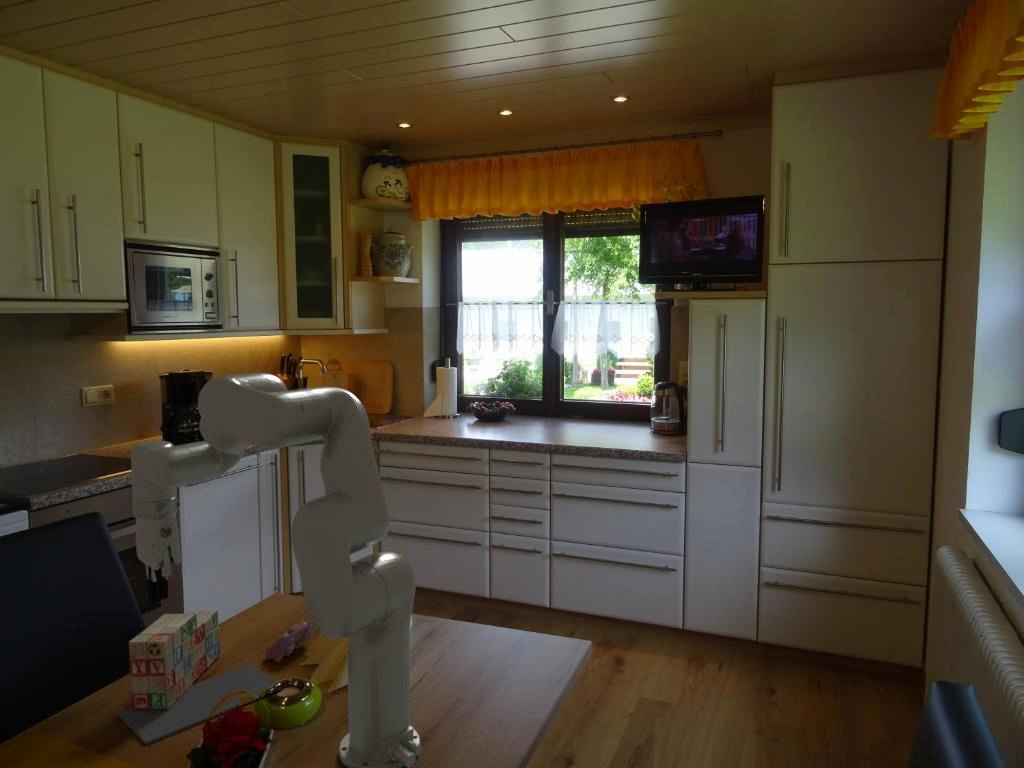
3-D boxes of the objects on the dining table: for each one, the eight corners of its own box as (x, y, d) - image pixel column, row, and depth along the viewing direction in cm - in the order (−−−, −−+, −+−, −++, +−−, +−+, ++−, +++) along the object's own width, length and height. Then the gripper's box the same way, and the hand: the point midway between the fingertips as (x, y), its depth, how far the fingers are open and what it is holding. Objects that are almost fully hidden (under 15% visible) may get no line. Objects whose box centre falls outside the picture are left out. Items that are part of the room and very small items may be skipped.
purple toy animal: (278, 670, 143) (291, 642, 142) (261, 657, 144) (273, 629, 143) (309, 649, 152) (321, 622, 151) (292, 636, 154) (304, 610, 152)
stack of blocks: (190, 655, 146) (187, 595, 145) (221, 655, 146) (218, 595, 145) (132, 710, 125) (127, 641, 124) (168, 710, 124) (163, 640, 124)
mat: (283, 689, 133) (283, 686, 133) (146, 745, 116) (145, 742, 116) (250, 666, 142) (250, 663, 142) (118, 715, 124) (117, 712, 124)
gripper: (191, 510, 136) (194, 605, 138) (160, 495, 146) (162, 583, 148) (149, 518, 130) (152, 616, 132) (119, 502, 140) (123, 593, 142)
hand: (158, 598), depth 140 cm, fingers closed
